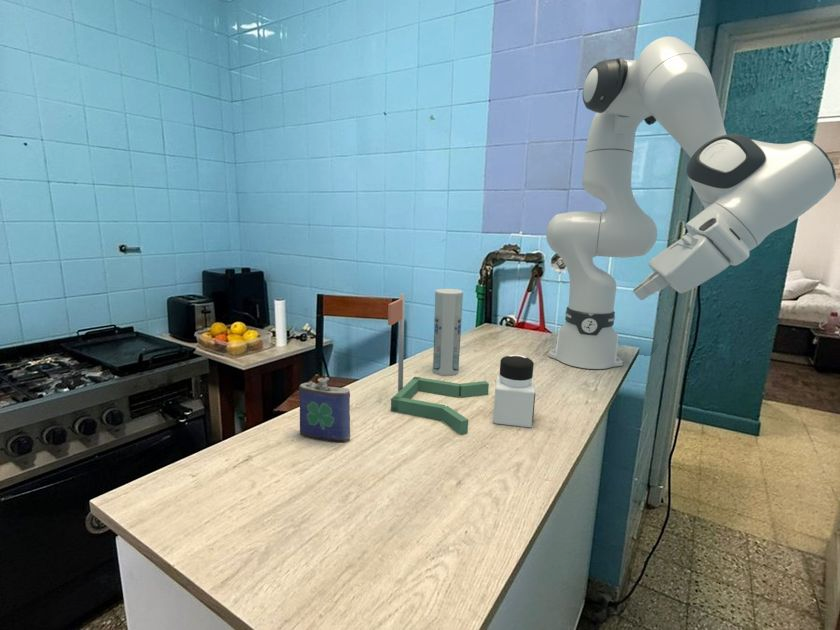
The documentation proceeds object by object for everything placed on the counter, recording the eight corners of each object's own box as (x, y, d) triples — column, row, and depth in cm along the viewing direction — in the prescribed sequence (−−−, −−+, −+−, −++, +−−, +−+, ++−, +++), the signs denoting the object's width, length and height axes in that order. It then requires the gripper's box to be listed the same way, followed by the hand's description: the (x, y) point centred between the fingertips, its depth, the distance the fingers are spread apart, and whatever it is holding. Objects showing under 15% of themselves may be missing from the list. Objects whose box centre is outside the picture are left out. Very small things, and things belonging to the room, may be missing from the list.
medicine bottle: (532, 428, 81) (538, 366, 78) (492, 423, 82) (497, 362, 79) (530, 411, 87) (536, 353, 85) (494, 407, 89) (498, 350, 86)
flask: (352, 437, 76) (352, 378, 73) (345, 445, 73) (344, 384, 71) (304, 428, 78) (302, 371, 76) (295, 436, 76) (293, 377, 73)
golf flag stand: (415, 380, 102) (417, 286, 97) (489, 392, 96) (495, 292, 91) (376, 418, 83) (377, 303, 78) (466, 435, 77) (472, 312, 72)
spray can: (432, 366, 112) (435, 288, 107) (458, 367, 111) (462, 288, 107) (432, 375, 105) (435, 292, 101) (459, 376, 105) (463, 293, 100)
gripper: (686, 221, 77) (618, 273, 83) (719, 223, 58) (629, 290, 64) (711, 249, 77) (641, 299, 82) (753, 259, 58) (658, 323, 63)
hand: (636, 295), depth 73 cm, fingers closed
